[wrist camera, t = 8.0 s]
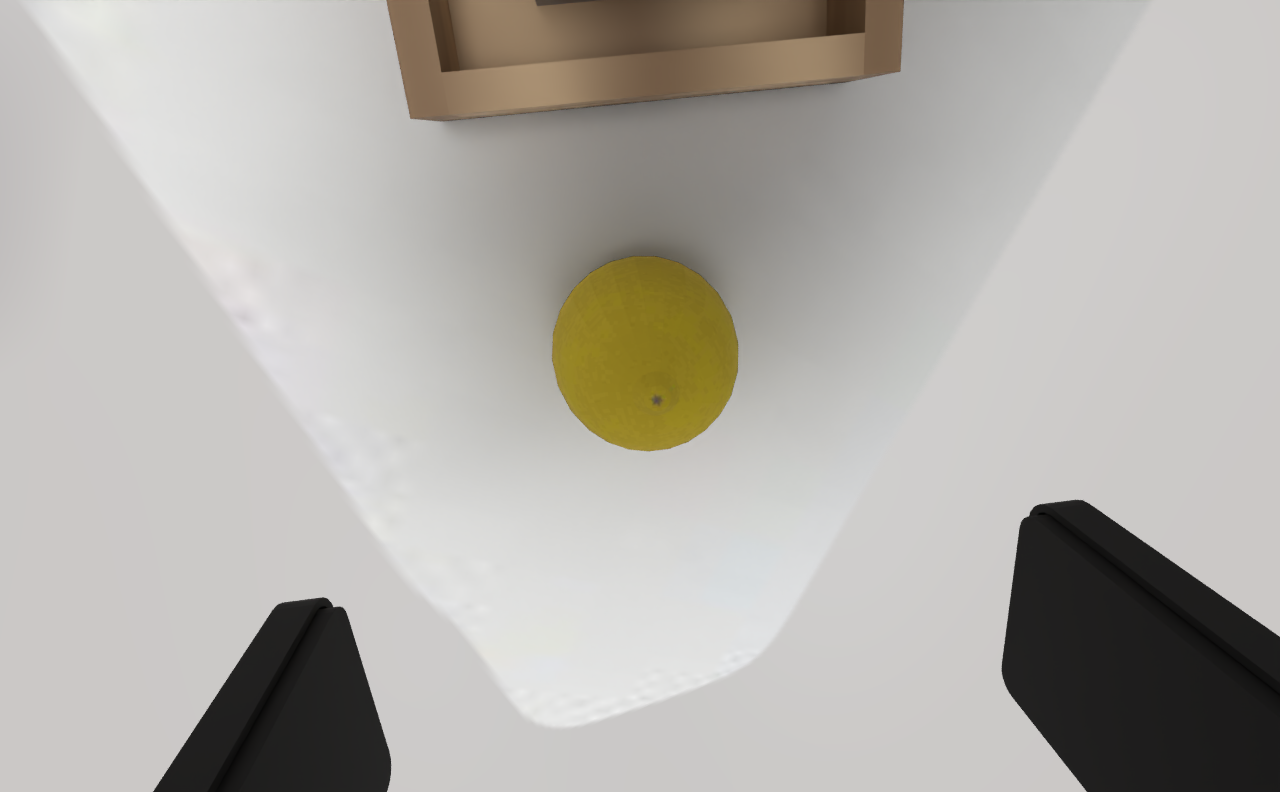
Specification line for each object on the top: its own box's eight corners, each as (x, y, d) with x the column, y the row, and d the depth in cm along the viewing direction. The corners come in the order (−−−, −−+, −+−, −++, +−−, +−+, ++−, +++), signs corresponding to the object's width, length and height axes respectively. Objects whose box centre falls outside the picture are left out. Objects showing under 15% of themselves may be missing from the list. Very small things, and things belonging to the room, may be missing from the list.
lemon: (527, 286, 23) (500, 358, 16) (669, 208, 23) (710, 246, 15) (604, 414, 25) (612, 531, 18) (736, 346, 24) (802, 437, 17)
